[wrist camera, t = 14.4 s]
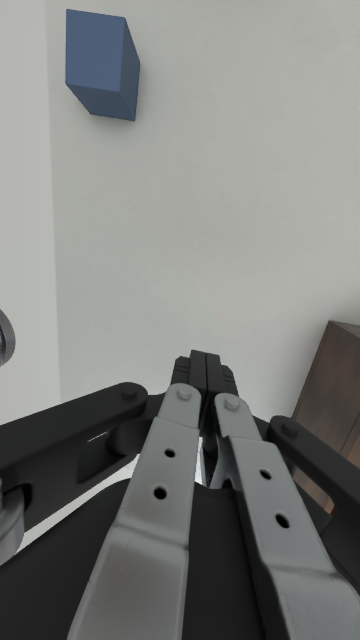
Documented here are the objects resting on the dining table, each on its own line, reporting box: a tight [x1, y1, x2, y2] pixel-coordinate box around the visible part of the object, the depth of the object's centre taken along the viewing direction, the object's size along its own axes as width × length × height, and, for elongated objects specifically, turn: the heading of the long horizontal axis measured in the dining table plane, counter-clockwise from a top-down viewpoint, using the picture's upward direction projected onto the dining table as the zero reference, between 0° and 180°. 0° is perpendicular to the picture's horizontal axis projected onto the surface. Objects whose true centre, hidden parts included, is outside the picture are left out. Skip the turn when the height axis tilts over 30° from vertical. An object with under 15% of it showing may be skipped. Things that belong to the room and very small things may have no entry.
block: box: [65, 9, 140, 121], centre depth 20 cm, size 4×4×4 cm
